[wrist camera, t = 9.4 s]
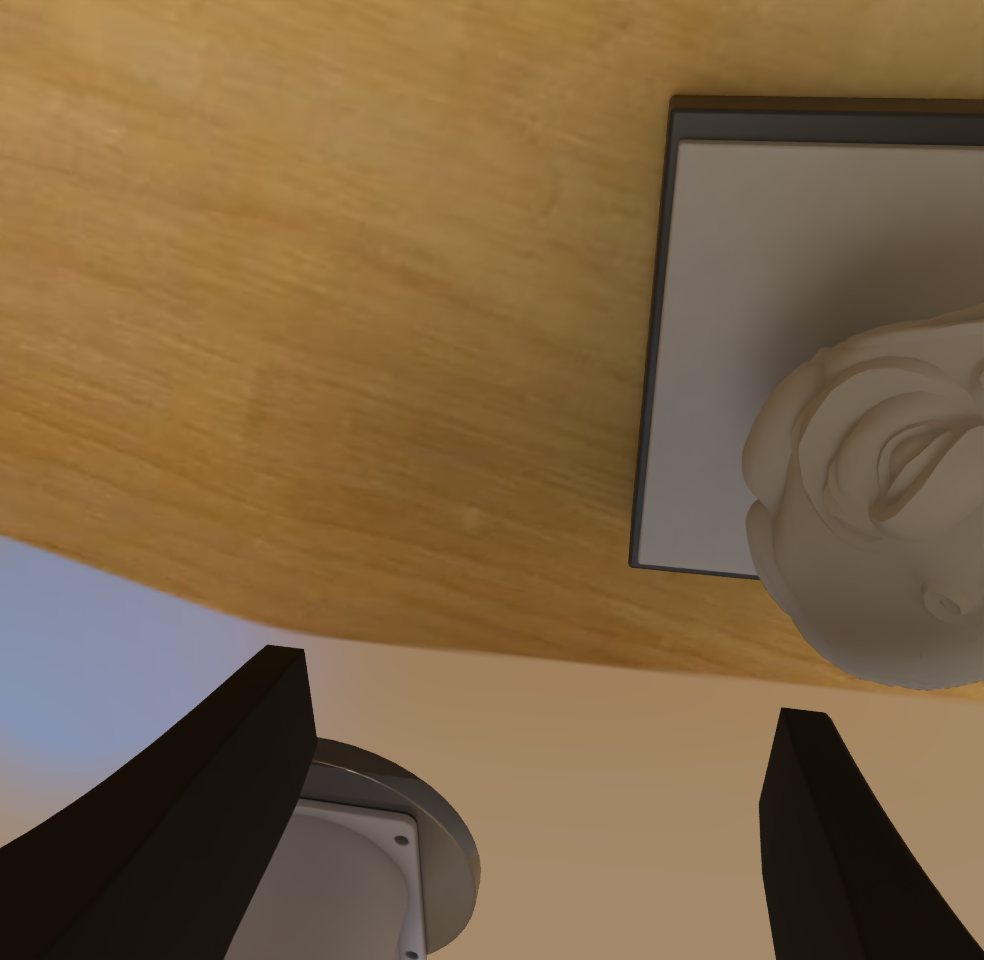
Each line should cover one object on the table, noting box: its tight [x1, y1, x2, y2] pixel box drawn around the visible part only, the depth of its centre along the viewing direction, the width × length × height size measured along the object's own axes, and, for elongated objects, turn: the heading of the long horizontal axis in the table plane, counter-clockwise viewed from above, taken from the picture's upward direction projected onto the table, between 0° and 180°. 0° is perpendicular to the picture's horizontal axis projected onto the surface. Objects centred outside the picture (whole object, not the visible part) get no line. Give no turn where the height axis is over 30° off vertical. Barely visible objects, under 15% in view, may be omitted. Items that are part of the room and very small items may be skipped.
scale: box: [628, 95, 984, 580], centre depth 17 cm, size 10×11×2 cm
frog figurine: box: [742, 302, 984, 691], centre depth 14 cm, size 6×7×7 cm
